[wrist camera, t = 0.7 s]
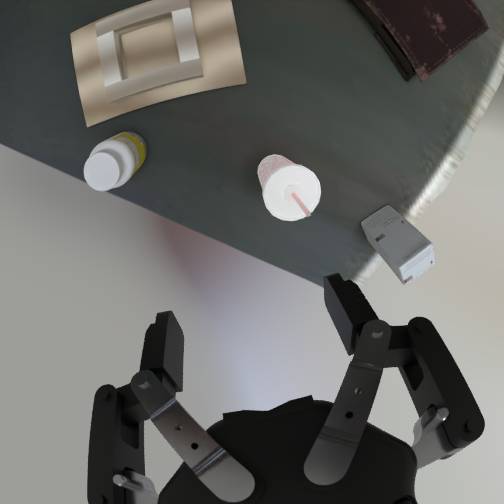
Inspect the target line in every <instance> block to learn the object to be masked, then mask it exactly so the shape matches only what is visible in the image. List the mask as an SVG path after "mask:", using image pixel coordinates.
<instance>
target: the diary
mask: <svg viewBox="0 0 504 504" xmlns="http://www.w3.org/2000/svg"><path fill="white" fill-rule="evenodd" d="M352 3H353V4H354V5H355V6H356V7H357V8H358V9H359V10H360V12H361V13H362V14H363V15H364V16H365V18H366V19H367V20H368V21H369V22H370V24H371V25H372V26H373V27H374V29H375V30H376V31H377V32H376V33H375V34H373V35H374V36H375V37H376V39H377V40H378V41H379V43H380V44H381V46H382V47H383V48H384V50H385V51H386V53H387V54H388V55H389V57H390V59H391V60H392V62H393V63H394V65H395V66H396V68H397V69H398V70H399V72H400V73H401V75H402V76H403V77H404V79H405V80H406V81H407V82H408V81H409V80H410V78H412V77H413V76H414V75H415V74H417V75H418V77H419V79H420V82H423V81H424V80H425V79H426V78H428V77H429V76H430V75H431V74H432V73H434V72H435V71H436V70H437V69H439V68H440V67H441V66H442V65H444V64H445V63H446V62H447V61H448V60H450V59H451V58H452V57H453V56H455V55H456V54H457V53H458V52H459V51H461V50H462V49H463V48H465V47H466V46H467V45H469V44H470V43H472V42H473V41H474V40H476V39H477V38H478V37H480V36H481V35H482V34H483V33H484V32H486V31H487V30H488V29H489V26H488V25H487V23H486V21H485V19H484V17H483V15H482V13H481V12H480V10H479V8H478V6H477V5H476V3H475V1H474V0H352Z"/></svg>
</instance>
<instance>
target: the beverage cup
mask: <svg viewBox="0 0 504 504" xmlns="http://www.w3.org/2000/svg"><path fill="white" fill-rule="evenodd" d="M257 173H258V177H259V180H260V183H261V186H262V189H263V193H262V195H263V198H264V202H265V205H266V208H267V209H268V210H269V211H270V213H271V214H272V215H273V216H275V217H277V218H279V219H281V220H286V221H295V220H298V219H302V218H304V217H306V216H307V217H309V216H310V215H311V212H313V210H314V209H315V207H316V206H317V204H318V203H319V199H320V195H321V188H320V182H319V180H318V179H317V177H316V176H315V174H314V173H313V172H312V171H310V170H309V169H307V168H306V167H304V166H302V165H297V164H295V163H293V162H291V161H290V160H288V159H286V158H285V157H283V156H281V155H275V154H274V155H270V156H267V157H266V158H264V159H263V160H262V161H261V163H260V164H259V166H258V172H257Z"/></svg>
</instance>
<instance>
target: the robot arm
mask: <svg viewBox="0 0 504 504" xmlns="http://www.w3.org/2000/svg"><path fill="white" fill-rule="evenodd" d="M324 299H325V305H326V307H327V310H328V312H329V314H330V316H331V318H332V321H333V323H334V325H335V327H336V329H337V331H338V333H339V335H340V338H341V340H342V342H343V344H344V346H345V349H346V351H347V353H348V355H349V356H350V355H352V354H354V357H353V359H352V361H351V362H350V364H349V367H348V369H347V372H346V375H345V377H344V380H343V382H342V385H341V387H340V390H339V392H338V395H337V397H336V399H335V402H334V403H332V402H329V401H323V400H313V398H312V395H310V396H306V397H302V398H298V399H294V400H290V401H288V402H286V403H284V404H282V405H280V406H278V407H276V408H273V409H271V410H269V411H254V410H252V411H251V410H242V411H236V412H229V413H223V420H220V421H218V422H216V423H215V424H213V425H212V426H211V427H209V428H208V429H207V430H206V431H205V430H204V429H203V428H202V427H201V426H200V425H199V424H198V423H197V422H196V421H195V419H194V418H193V417H192V416H191V415H190V414H189V413H188V412H187V411H186V410H185V409H184V408H183V407H182V406H181V405H180V403H179V402H178V401H177V400H176V399H175V395H176V394H175V393H176V392H182V391H183V353H184V335H183V332H182V329H181V327H180V325H179V323H178V322H177V320H176V318H175V316H174V314H173V312H172V311H166V312H161V313H157V316H156V322H155V323H154V324H151V325H150V326H149V328H148V329H147V331H146V334H145V339H144V340H145V341H144V346H143V347H144V348H143V351H142V358H141V364H140V371H139V372H138V373H136V374H135V375H134V376H133V378H132V379H131V382H130V383H129V384H127V385H125V386H122V387H119V388H117V389H116V388H115V387H114V386H113V385H110V384H107V385H103V386H101V387H100V388H99V389H98V390H97V392H96V394H95V398H94V404H93V412H92V421H91V429H90V440H89V455H88V480H87V481H88V482H87V483H88V484H87V485H88V486H87V498H88V503H89V504H418V503H417V501H416V498H415V494H414V484H415V477H416V472H417V470H418V469H419V468H422V467H424V466H426V465H428V464H430V463H432V462H434V461H436V460H438V459H447V458H449V457H451V456H452V455H454V454H455V453H457V452H459V451H460V450H462V449H463V448H465V447H466V446H468V445H469V444H471V443H472V442H474V441H475V440H477V439H478V438H479V437H480V436H481V435H482V433H483V431H484V426H485V422H484V418H483V416H482V414H481V411H480V409H479V407H478V405H477V403H476V401H475V399H474V397H473V395H472V392H471V390H470V388H469V387H468V385H467V383H466V381H465V379H464V377H463V375H462V373H461V372H460V369H459V368H458V366H457V364H456V363H455V361H454V359H453V357H452V355H451V353H450V352H449V350H448V348H447V347H446V345H445V343H444V342H443V340H442V338H441V337H440V335H439V333H438V332H437V330H436V329H435V327H434V325H433V324H432V322H431V321H430V320H428V319H427V318H424V317H415V318H413V319H411V320H410V321H409V323H408V325H404V326H390V325H389V324H388V323H386V322H385V321H383V320H379V318H378V317H377V315H376V313H375V312H374V310H373V309H372V307H371V305H370V304H369V302H368V301H367V299H366V298H365V296H364V294H363V293H362V291H361V290H360V288H359V287H358V285H357V284H355V283H354V282H352V281H351V280H347V281H344V280H343V279H342V277H341V276H340V274H339V273H334V274H331V275H327V276H324ZM388 367H398V368H399V371H400V373H401V375H402V377H403V379H404V382H405V384H406V386H407V388H408V391H409V393H410V396H411V398H412V401H413V403H414V405H415V408H416V410H417V413H418V415H419V419H418V421H417V422H416V423H415V425H414V431H413V432H414V443H413V445H412V447H410V446H409V445H408V444H407V443H406V442H404V441H402V440H400V439H398V438H396V437H394V436H392V435H390V434H389V433H387V432H385V431H383V430H381V429H379V428H377V427H376V426H374V425H372V424H370V423H368V422H367V420H368V417H369V414H370V411H371V408H372V405H373V402H374V399H375V396H376V393H377V390H378V386H379V383H380V379H381V376H382V372H383V368H388ZM148 419H151V421H152V422H153V423H154V425H155V426H156V427H157V429H158V430H159V431H160V433H161V434H162V435H163V436H164V438H165V439H166V440H167V441H168V443H169V444H170V445H171V446H172V447H173V448H174V450H175V451H176V452H177V453H178V454H179V456H180V457H181V458H182V459H183V460H184V462H183V463H182V464H181V466H180V467H179V469H178V470H177V471H176V473H175V474H174V475H173V477H172V478H171V479H170V480H169V482H168V483H167V484H166V486H165V487H164V488H163V490H162V491H161V492H160V494H159V495H157V493H156V491H155V488H154V484H153V483H152V481H151V480H150V479H149V478H147V477H145V464H144V463H145V462H144V421H145V420H148Z"/></svg>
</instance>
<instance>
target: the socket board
mask: <svg viewBox="0 0 504 504" xmlns="http://www.w3.org/2000/svg"><path fill="white" fill-rule="evenodd" d="M71 43H72V51H73V58H74V65H75V71H76V77H77V83H78V88H79V93H80V98H81V103H82V107H83V112H84V116H85V120H86V124H87V127H90V126H93V125H96V124H98V123H101V122H103V121H106V120H108V119H111V118H114V117H116V116H119V115H122V114H125V113H128V112H131V111H133V110H137V109H140V108H143V107H146V106H149V105H153V104H156V103H159V102H163V101H166V100H170V99H174V98H178V97H182V96H186V95H190V94H194V93H199V92H204V91H208V90H213V89H218V88H224V87H230V86H236V85H242V84H246V77H245V72H244V66H243V60H242V55H241V49H240V44H239V39H238V33H237V28H236V23H235V17H234V12H233V7H232V2H231V0H152V1H149V2H146V3H143V4H139V5H136V6H133V7H131V8H128V9H125V10H122V11H120V12H117V13H114V14H112V15H109V16H107V17H105V18H102V19H100V20H98V21H95V22H93V23H91V24H89V25H87V26H85V27H82V28H80V29H78V30H76V31H74V32H72V33H71Z"/></svg>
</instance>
